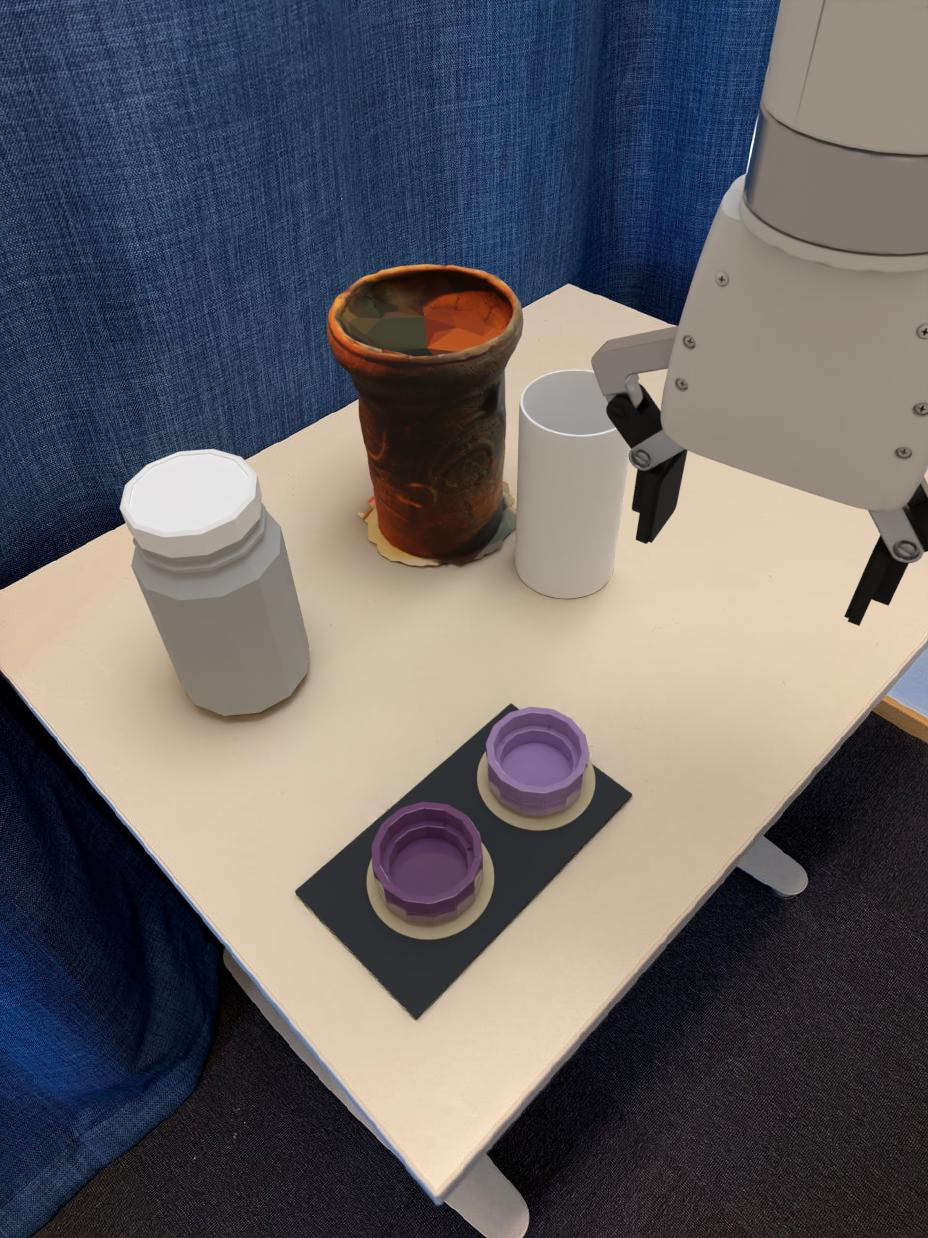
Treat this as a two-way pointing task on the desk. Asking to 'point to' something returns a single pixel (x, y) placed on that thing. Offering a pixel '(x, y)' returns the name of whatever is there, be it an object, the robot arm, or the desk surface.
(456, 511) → the vessel
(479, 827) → the mat
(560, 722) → the lilac dish
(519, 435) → the cup
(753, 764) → the desk surface
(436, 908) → the plum dish
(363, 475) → the desk surface
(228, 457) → the jar
